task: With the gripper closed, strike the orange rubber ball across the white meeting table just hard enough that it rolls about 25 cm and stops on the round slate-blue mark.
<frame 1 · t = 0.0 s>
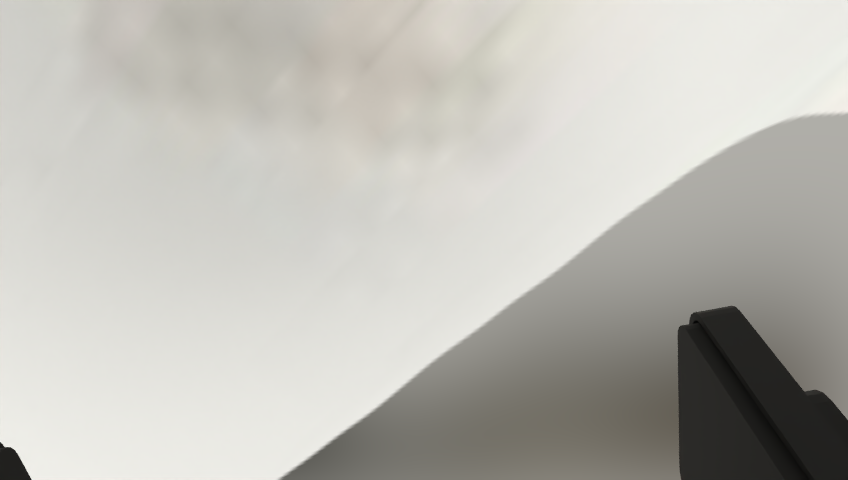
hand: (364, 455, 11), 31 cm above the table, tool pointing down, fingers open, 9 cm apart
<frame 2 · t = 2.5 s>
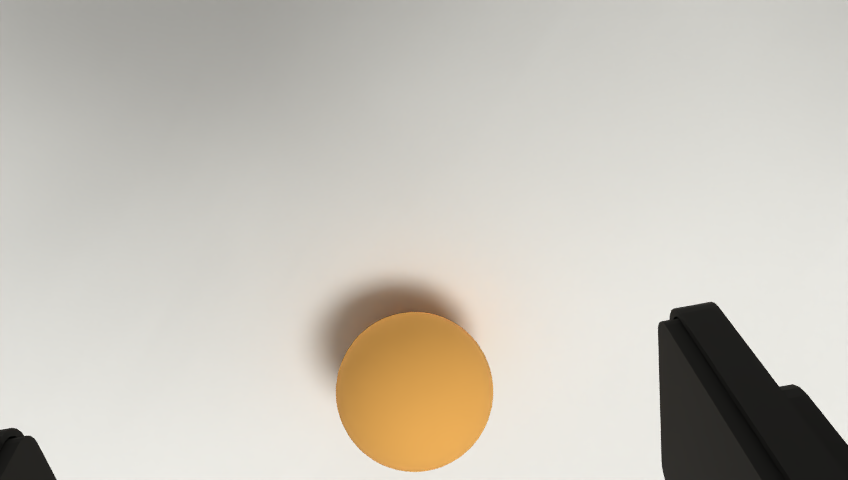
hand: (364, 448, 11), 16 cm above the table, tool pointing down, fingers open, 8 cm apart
ball: (414, 390, 28), on the table
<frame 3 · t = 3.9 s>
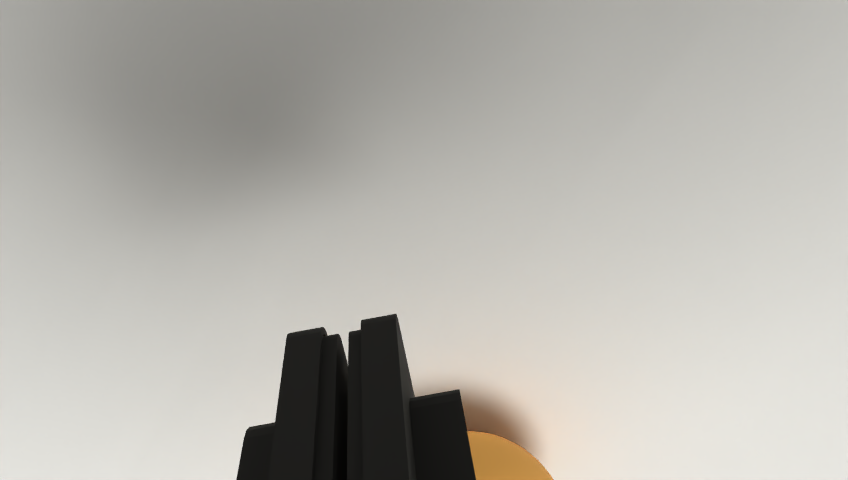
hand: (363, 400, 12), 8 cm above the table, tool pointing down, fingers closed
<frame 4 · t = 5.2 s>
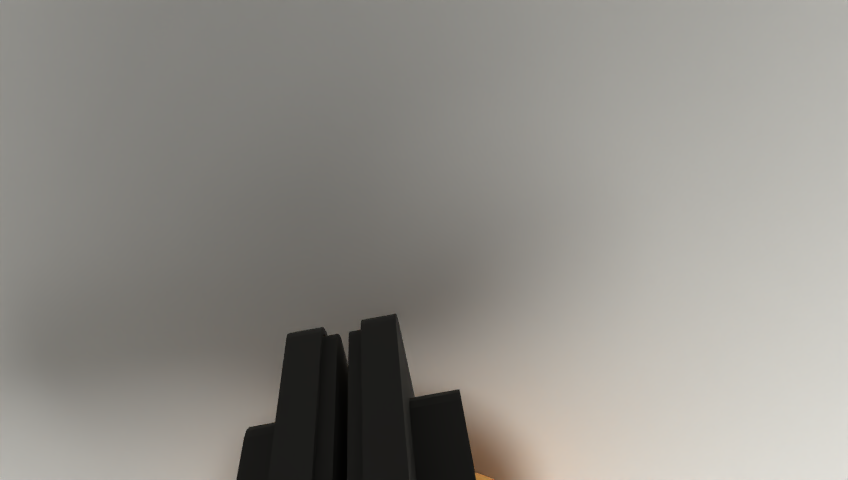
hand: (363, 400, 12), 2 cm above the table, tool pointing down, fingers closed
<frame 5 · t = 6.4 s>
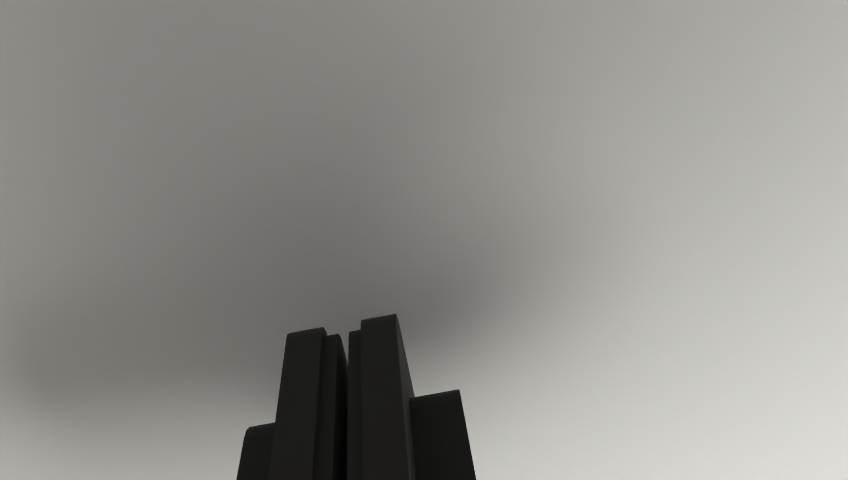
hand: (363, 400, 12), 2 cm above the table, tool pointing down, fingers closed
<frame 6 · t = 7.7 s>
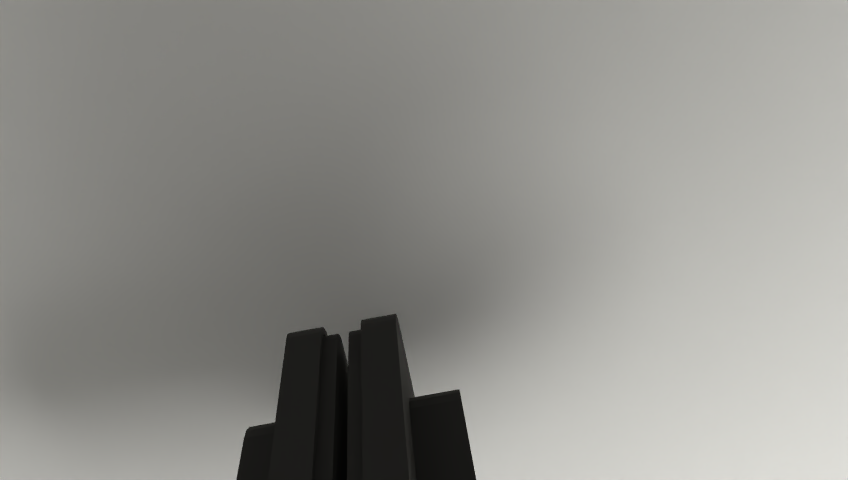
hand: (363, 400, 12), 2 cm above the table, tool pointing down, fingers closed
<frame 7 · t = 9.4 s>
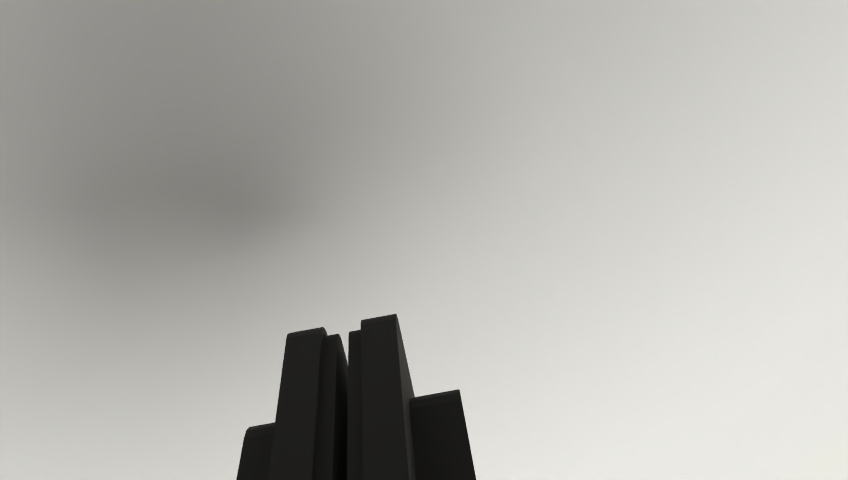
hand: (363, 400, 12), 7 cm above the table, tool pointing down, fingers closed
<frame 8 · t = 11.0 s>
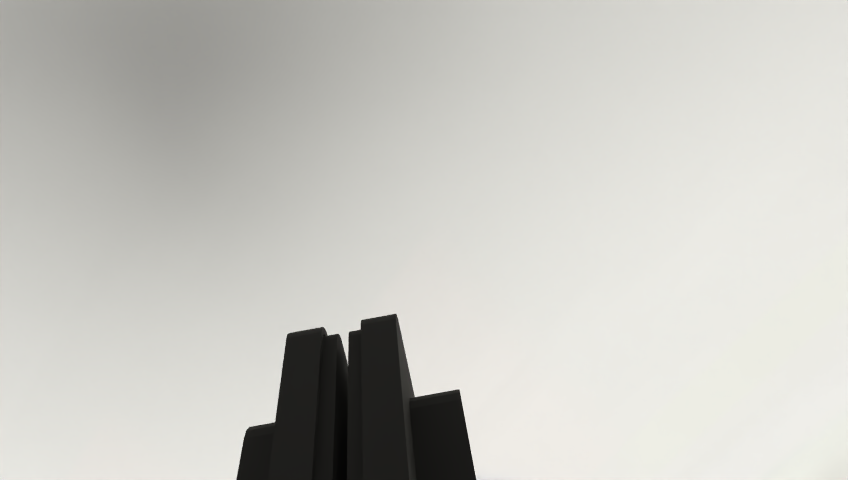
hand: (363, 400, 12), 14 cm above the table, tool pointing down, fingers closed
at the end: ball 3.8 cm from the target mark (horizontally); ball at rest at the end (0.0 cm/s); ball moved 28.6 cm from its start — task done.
